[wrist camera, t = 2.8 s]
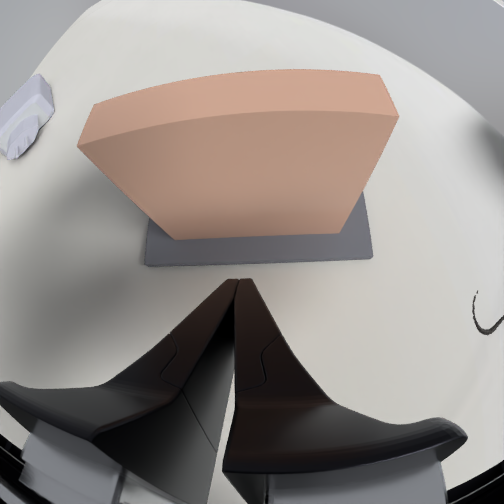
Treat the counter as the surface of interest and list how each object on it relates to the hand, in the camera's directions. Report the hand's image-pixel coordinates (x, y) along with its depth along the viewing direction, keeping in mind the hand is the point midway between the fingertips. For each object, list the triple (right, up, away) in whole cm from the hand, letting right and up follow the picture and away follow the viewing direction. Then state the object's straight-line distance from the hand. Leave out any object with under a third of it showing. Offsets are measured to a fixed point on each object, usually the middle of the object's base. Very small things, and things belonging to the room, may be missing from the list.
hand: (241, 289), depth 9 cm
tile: (+1, +3, +7) cm, 8 cm away
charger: (-29, +17, +15) cm, 37 cm away
